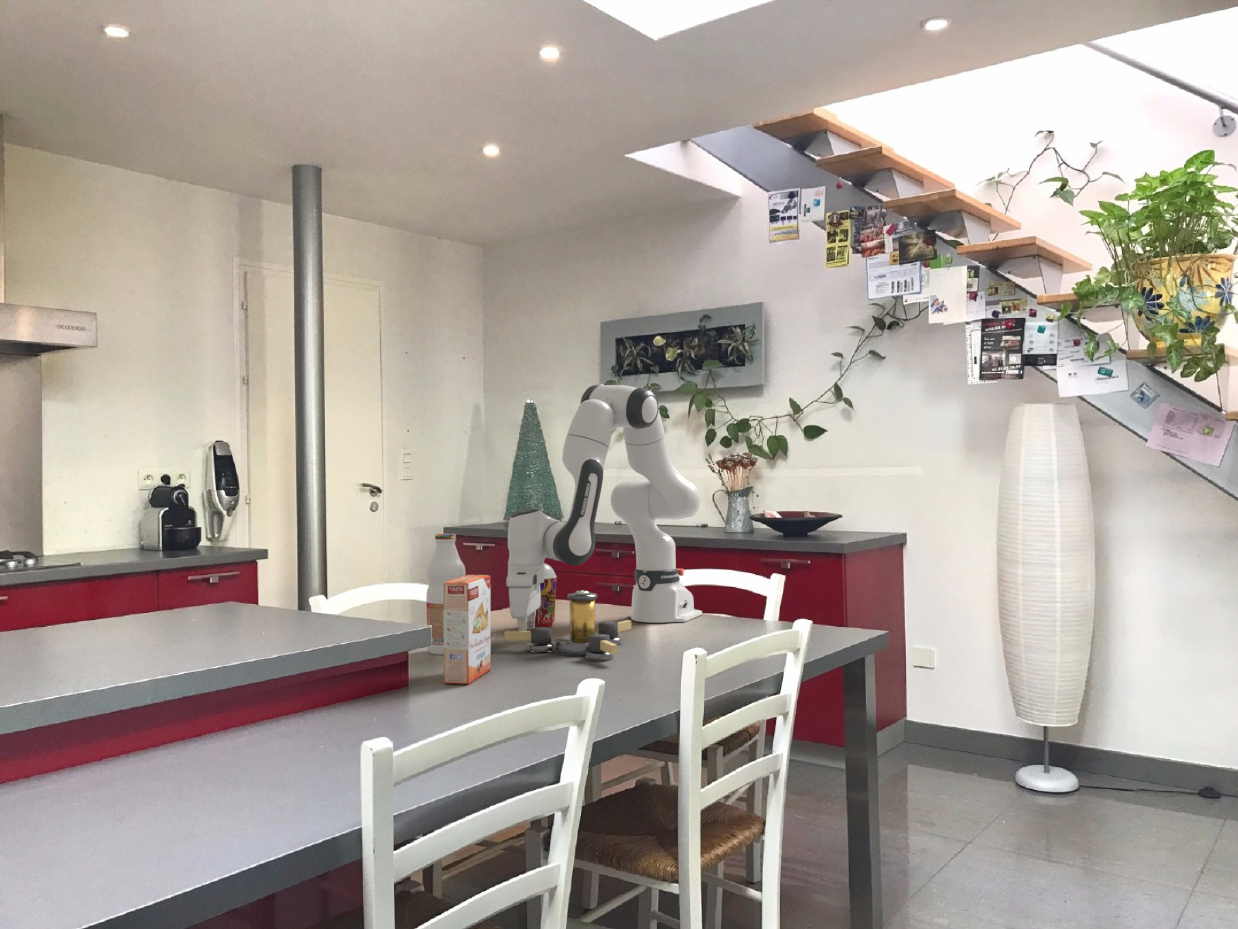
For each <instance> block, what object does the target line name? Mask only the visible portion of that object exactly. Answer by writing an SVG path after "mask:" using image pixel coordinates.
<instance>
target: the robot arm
mask: <svg viewBox="0 0 1238 929" xmlns="http://www.w3.org/2000/svg"><path fill="white" fill-rule="evenodd" d="M614 428H622V430H623V436H624V444H625V451H626V456H627V461H628V465H629V467H630V468H631V469H632V470H633V471H634V472H635V473H637V474H639V475H640V476H643V477H644V478H645V479H646V480H645V479H644V480H641V479H639V480H628V481H625V482H621V483H617V484H616V485H615V486H614V488H613V490H612V492H611V494H610V506H611V508H612V510H613V512H614V513H615V515H616V516H618V518H620V519H621V520H622V521H623V522H624V523H625V524H626V526H627V527H628V528H629V530H630V532H631V535H632V537H633V541H634V547H635V559H636V561H635V562H636V563H635V564H636V566H635V569H634V581H635V586H633V589H632V597H631V611H630V612H628V617H629V618H630V619H631V621H634V622H641V623H653V624H654V623H655V624H656V623H658V624H659V623H685V622H687V621H690V620H693V619H694V618H696V617H697V618H698V617H699V616H702V615H703V610H699V609H696V608H695V607H694V605H695V604H694V602H695V601H694V595H693V594H692V592H691V591H690V590H688V589H687V588H686V586H684V585H683V584H682V583H681V582H680V576H682V577H683V576H684V574H685V570H684V568H677V566H676V565H677V564H676V563H677V562H676V561H677V559H676V555H677V554H676V543H675V541H674V538H672V537H671V535H669V534H668V533H665V532H664V531H661V529H659V527H658V525H657V523H656V520H672V521H673V520H682V519H688V518H692V517H694V516H695V515H696V513H697V512H698V511H699V508H700V506H701V494H700V491H699V489H698V488H697V486H696V485H695V484H694V483H693V482H691V481H689V480H688V479H687V478H685V477H683V475H682V474H681V473H680V472H679V471H678V469H676V467H675V466H674V464H673V462H672V460H671V458H670V454H669V450H668V446H667V441H666V434H665V428H664V424H663V421H662V416H661V413H660V411H659V402H658V399H657V397H656V395H655V394H654V393H653V392H652V391H651V390H649V389H647V388H645V387H635V386H631V385H625V384H624V385H623V384H618V385H617V384H607V385H605V384H603V383H601V384H594V385H593V384H592V385H591V386H589V387H587V388H586V390H585V391H584V392H583V394H582V396H581V399H580V404H579V406H578V408H577V409H576V410H575V413H574V415H573V417H572V420H571V422H570V425H569V428H568V431H567V434H566V436H565V440H564V444H563V448H562V458H561V460H562V463H563V465H564V468H566V470H567V471H568V472H569V473H570V475H571V476H572V478H573V480H574V488H575V489H574V493H573V499H572V503H571V508H570V512H569V515H568V518H567V520H566V521H560V520H559V519H555V518H553V517H551V516H549V515H547V514H545V513H544V512H543V511H541V510H540V509H539V508H527V509H525V508H524V509H521V510H518V511H515V512H514V513H512V515H510V518H509V520H508V529H507V548H508V551H509V552H508V553H509V555H508V557H509V558H508V559H507V560H508V561H507V576H506V578H505V579H506V581H505V582H506V583H505V584H506V587H508V599H509V610H510V616H511V618H512V619H513V620H514V619H516V623H517V627H518V631H528V630H531V629H532V628H534V627H535V615H536V610H537V609H538V608H539V607H540V605H541V593H540V583H543V582H544V563H545V559H550V560H555V561H558V562H562V563H565V565H568V566H580V565H583V564H585V563H586V562H587V561H588V560H589V559H590V558H591V557H592V555H593V553H594V551H595V548H596V547H595V546H596V535H595V534H596V533H595V523H596V518H597V512H598V508H599V503H600V502H599V501H600V497H601V492H602V488H603V481H604V466H605V462H606V458H607V454H608V450H609V447H610V443H611V440H612V435H613V434H612V433H613V429H614Z"/></svg>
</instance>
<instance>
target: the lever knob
mask: <svg viewBox="0 0 1238 929" xmlns="http://www.w3.org/2000/svg"><path fill="white" fill-rule="evenodd" d="M597 625H598V627H597V628H598V633H597V634H606V635H609V636H610V638H614V637H618V636H619V633H620V632H623V631H627V630H631V629H632V620H629V619H626V620H622V621H618V622H617V621H611V620H610V621H609V620H607V621H600V622H598V623H597Z"/></svg>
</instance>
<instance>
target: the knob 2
mask: <svg viewBox="0 0 1238 929" xmlns="http://www.w3.org/2000/svg"><path fill="white" fill-rule="evenodd" d="M588 637H589V651H591V652H607V653H609V654H611V655H613V656H614V655H618V654H619V653H618V646H617V645H616V644H614V643H612V642H610V636H609V635H606V634H598V633H596V634H594V635H589V636H588Z"/></svg>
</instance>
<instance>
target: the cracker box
mask: <svg viewBox="0 0 1238 929" xmlns="http://www.w3.org/2000/svg"><path fill="white" fill-rule="evenodd" d="M491 580H492V578H491V575H489V574H488V575H487V574H465V576H463V577H460V578H457V579H453V580H450V581H447V582H444V583H443V626H444V655H443V684H452V685H470V684H471V683H473V682H474V681H476V680H478V679H479V678H480V676H481V677H482V676H484V675H485V674H487V673H488V671H489V672H490V671H491V668H492V666H491V664H492V663H491V652H492V651H491V648H492V646H491V644H492V643H491V640H492V639H491V637H492V636H491V591H492V590H491ZM486 672H487V673H486ZM483 674H484V675H483Z"/></svg>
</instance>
